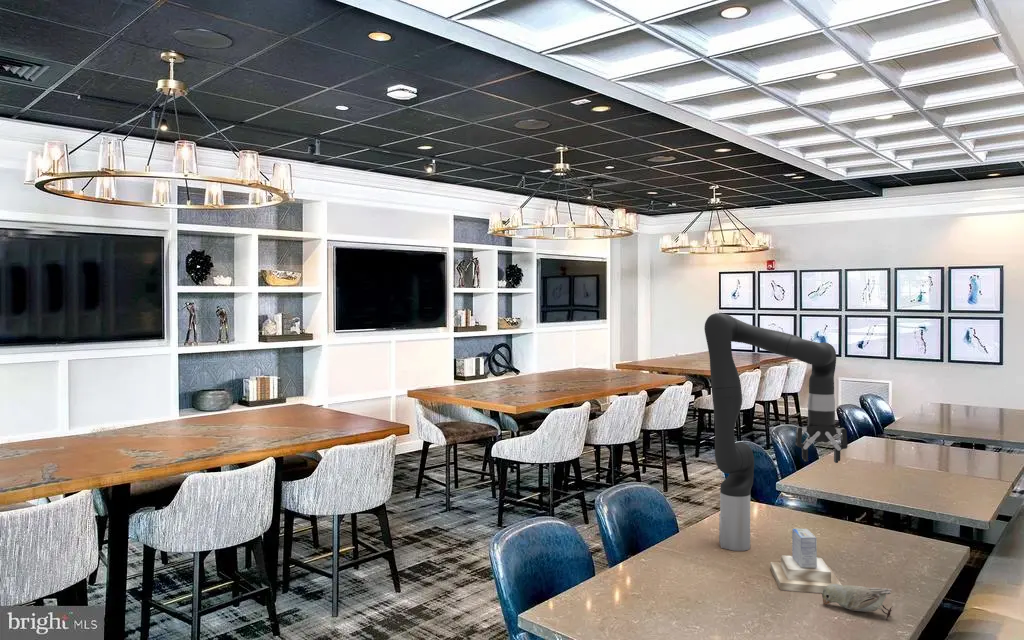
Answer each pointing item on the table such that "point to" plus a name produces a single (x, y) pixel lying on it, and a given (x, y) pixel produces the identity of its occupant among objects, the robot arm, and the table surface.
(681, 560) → the table surface
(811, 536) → the medicine box
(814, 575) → the pedestal
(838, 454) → the robot arm
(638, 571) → the table surface
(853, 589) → the decorative bird
